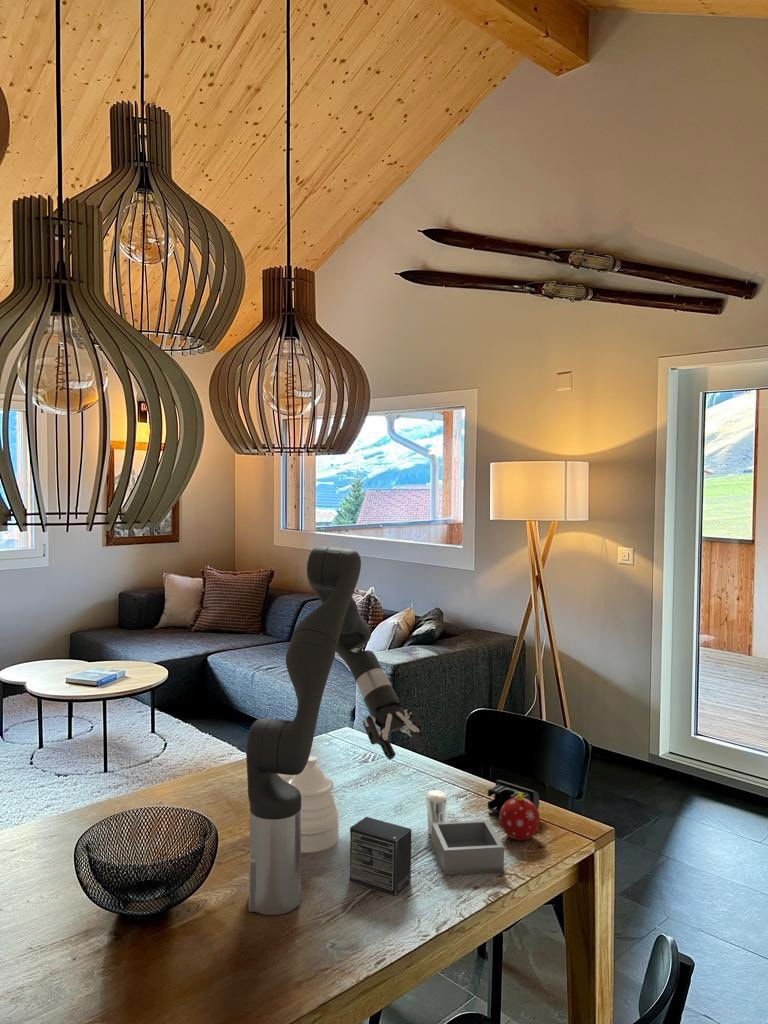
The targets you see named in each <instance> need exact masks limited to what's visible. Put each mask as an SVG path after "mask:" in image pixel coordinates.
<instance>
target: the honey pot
mask: <svg viewBox="0 0 768 1024" xmlns="http://www.w3.org/2000/svg"><path fill="white" fill-rule="evenodd" d="M317 761H318V757H317V756H315V755H310V756H309V759H308V762H307V764H306V766H305V768H304V770H303V771H302V772H301V773H300V774H298V775H293V777H292V778H290V780H288V781H287V783H289V784H291V785H293V786H294V787H296V788H297V789H298V790H299V791H300V793H301V853H307V854H309V853H316V852H322V851H325V850H328V849H330V848H331V847H333V846H335V844H337V842H338V840H339V837H340V836H339V829H340V828H339V827H340V826H339V817H340V815H339V810H338V809H337V806H336V801H335V798H334V797H335V796H334V795H333V794H332V790H333V788H334V782H333V781H332V779H330V778H329V777H327V776H325V774H324V772H323V771H322V769H321V767H320V765H318V764H317Z"/></svg>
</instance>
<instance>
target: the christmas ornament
mask: <svg viewBox="0 0 768 1024" xmlns="http://www.w3.org/2000/svg"><path fill="white" fill-rule="evenodd" d="M519 793H520V794H521V795H520V794H519ZM498 819H499V824H500V827H501V829H502V830H503V832H504V833H505V834H506V835H507V836H508V837H510V838H511V839H513V840H516V841H525V840H528V839H530V838H532V837H533V836H534V835H535V834H536V833H537V831H538V830H539V828H540V824H541V823H540V821H541V817H540V812H539V809H538V810H537V808H536V806H535V805H534V804H533V803H532V802H531V801H529V800H528V799H525V798H523V793H521V792H518V793H517V797H515V798H511V799H509V800H508V801H506V802H505V803H504V805H503V806H502V808H501V810H500V815H499V818H498Z"/></svg>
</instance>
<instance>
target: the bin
mask: <svg viewBox="0 0 768 1024" xmlns="http://www.w3.org/2000/svg"><path fill="white" fill-rule="evenodd" d="M431 849H432V850H433V854H434V855H435V857H436V860H437V862H438V864H439V867H440V869H441V872H442V875H443V876H456V875H457V876H458V875H462V876H463V875H477V874H478V875H479V874H491V873H492V874H493V873H496V874H497V873H504V871H505V870H504V868H505V846H504V845H503V843H502V841H501V840H500V838H499V836H498V835H497V833H496V831H495V829H494V828H493V826H492V825H491V823H490V821H489V820H488V819H479V820H460V821H459V820H458V821H445V822H434V823H432V835H431Z"/></svg>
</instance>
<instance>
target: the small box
mask: <svg viewBox="0 0 768 1024" xmlns="http://www.w3.org/2000/svg"><path fill="white" fill-rule="evenodd" d="M349 833H350V834H349V837H350V838H349V839H350V842H349V843H350V844H349V846H350V847H349V848H350V849H349V879H348V880H349V881H350V882H352V883H356V884H359V885H362V886H365V887H367V888H372V889H375V890H376V891H377V890H378V891H381V892H383V893H387V894H390V895H392V896H397V895H399V893H400V892H401V891H402V890H403V889H404V888H406V886H408V885H409V884H410V883H411V882H412V878H411V877H412V828H408V827H404V826H401V825H397V824H394V823H391V822H386V821H385V820H384V821H383V820H379V819H376V818H372V817H369V816H366V817H364V818H362V819H361V820H359V821H358V822H356V823H355V824H353V825H352V826H350V828H349Z"/></svg>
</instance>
